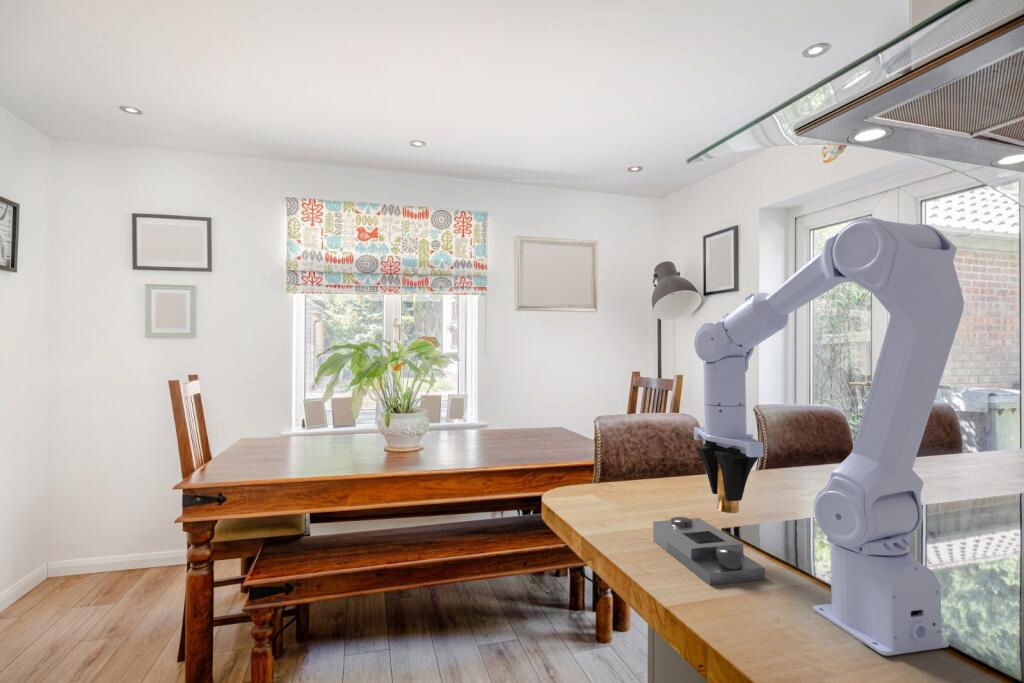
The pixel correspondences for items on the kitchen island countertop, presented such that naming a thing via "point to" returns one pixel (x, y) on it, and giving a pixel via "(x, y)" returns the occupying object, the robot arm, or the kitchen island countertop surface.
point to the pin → (722, 503)
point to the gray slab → (706, 551)
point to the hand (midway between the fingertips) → (726, 496)
